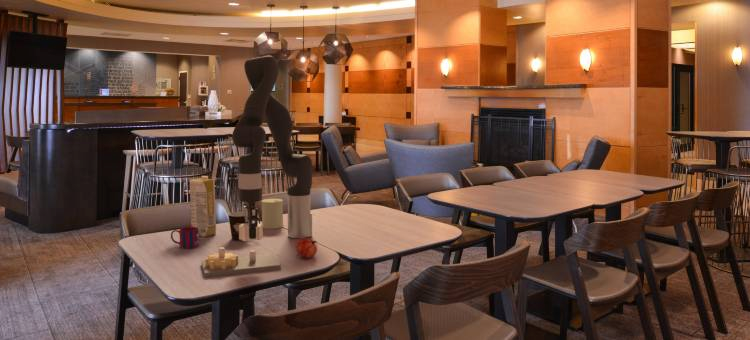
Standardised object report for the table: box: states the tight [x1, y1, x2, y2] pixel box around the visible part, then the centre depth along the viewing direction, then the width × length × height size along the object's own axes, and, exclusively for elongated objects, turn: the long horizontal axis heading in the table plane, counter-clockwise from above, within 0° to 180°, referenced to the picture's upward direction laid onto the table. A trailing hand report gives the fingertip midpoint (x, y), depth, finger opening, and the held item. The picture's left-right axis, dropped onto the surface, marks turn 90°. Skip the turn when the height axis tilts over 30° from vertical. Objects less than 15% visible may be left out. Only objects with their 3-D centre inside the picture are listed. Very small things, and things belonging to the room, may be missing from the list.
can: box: [261, 198, 284, 230], centre depth 240 cm, size 9×9×12 cm
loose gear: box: [239, 222, 264, 242], centre depth 184 cm, size 8×6×4 cm
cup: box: [170, 226, 200, 250], centre depth 209 cm, size 7×10×7 cm
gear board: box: [200, 246, 282, 278], centre depth 184 cm, size 24×14×7 cm, turn 111°
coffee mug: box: [228, 211, 261, 242], centre depth 219 cm, size 12×9×10 cm
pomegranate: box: [295, 237, 318, 259], centre depth 195 cm, size 7×7×10 cm
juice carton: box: [189, 175, 217, 238], centre depth 225 cm, size 9×8×24 cm
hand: (251, 236), depth 185 cm, fingers closed on loose gear, 6 cm apart
